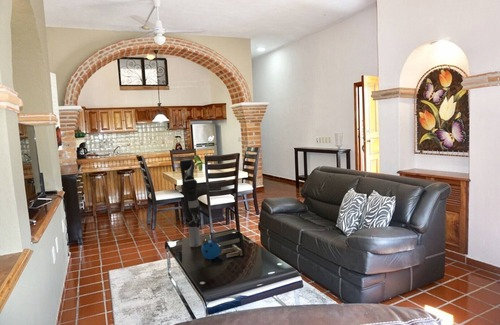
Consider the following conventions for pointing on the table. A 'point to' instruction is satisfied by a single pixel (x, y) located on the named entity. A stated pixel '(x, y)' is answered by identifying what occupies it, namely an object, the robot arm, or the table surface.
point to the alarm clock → (210, 248)
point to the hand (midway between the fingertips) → (198, 227)
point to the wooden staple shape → (235, 248)
